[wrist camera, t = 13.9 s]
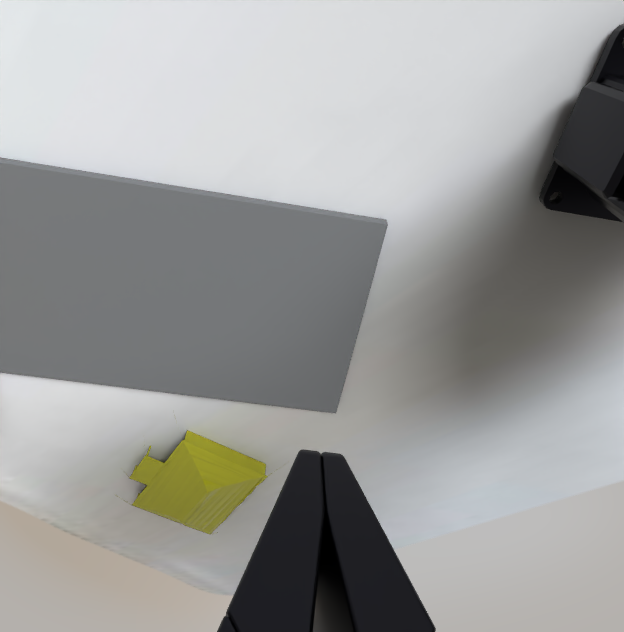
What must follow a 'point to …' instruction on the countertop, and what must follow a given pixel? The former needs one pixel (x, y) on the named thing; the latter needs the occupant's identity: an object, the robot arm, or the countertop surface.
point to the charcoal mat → (179, 288)
